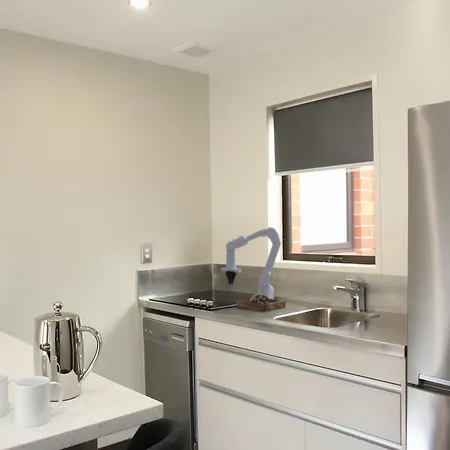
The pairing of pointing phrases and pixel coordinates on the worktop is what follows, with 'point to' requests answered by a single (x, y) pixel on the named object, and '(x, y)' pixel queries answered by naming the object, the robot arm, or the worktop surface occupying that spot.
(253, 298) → the food container
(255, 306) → the wooden tray
